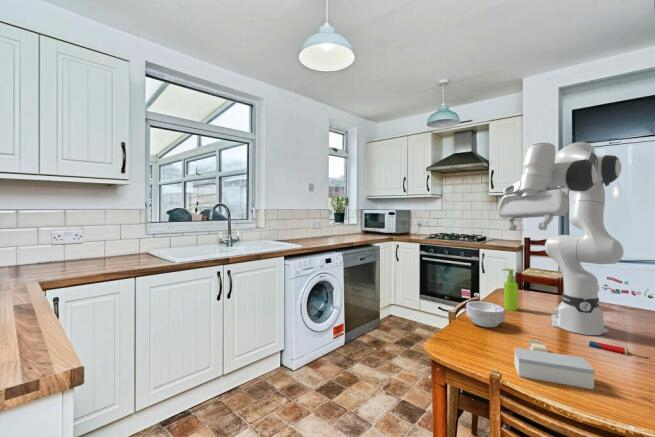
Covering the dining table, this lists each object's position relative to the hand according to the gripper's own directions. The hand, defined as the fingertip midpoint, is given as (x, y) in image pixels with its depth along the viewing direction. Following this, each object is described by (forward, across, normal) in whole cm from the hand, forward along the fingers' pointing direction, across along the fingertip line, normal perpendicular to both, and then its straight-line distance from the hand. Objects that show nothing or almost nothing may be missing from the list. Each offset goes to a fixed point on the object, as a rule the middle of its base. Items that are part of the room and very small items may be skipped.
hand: (526, 229), depth 99 cm
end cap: (+40, -4, -17) cm, 44 cm away
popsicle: (+27, -3, -54) cm, 60 cm away
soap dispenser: (+19, +44, -63) cm, 79 cm away
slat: (+37, +5, -26) cm, 45 cm away
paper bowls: (+30, +35, -36) cm, 58 cm away
